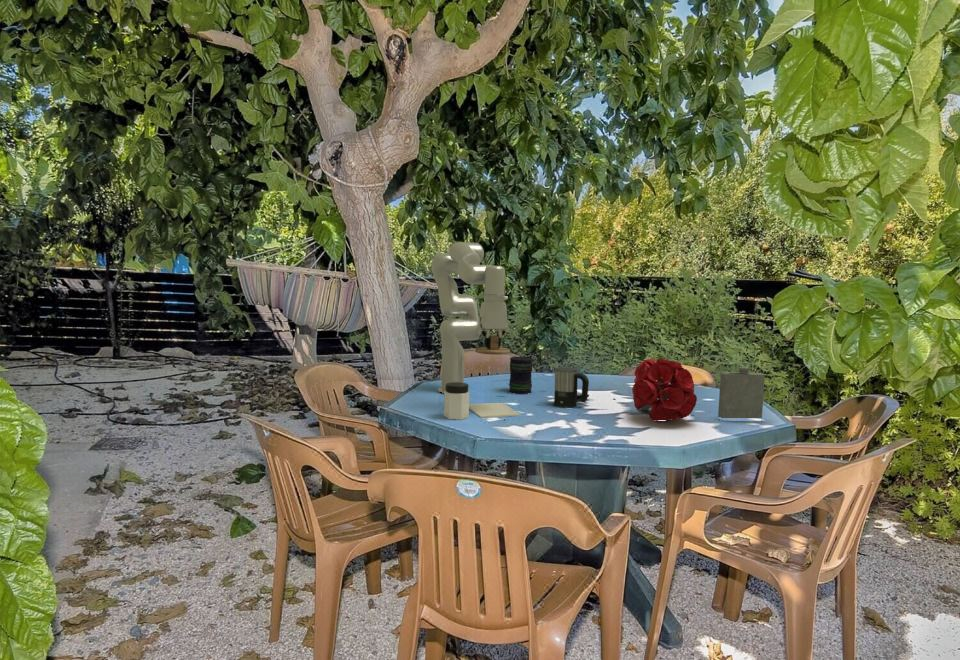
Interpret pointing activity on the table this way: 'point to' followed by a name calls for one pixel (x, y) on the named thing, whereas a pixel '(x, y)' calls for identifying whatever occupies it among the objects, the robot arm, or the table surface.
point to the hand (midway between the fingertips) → (492, 347)
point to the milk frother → (569, 387)
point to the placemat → (492, 410)
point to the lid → (493, 347)
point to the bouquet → (664, 389)
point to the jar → (456, 401)
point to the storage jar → (520, 375)
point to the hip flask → (741, 394)
